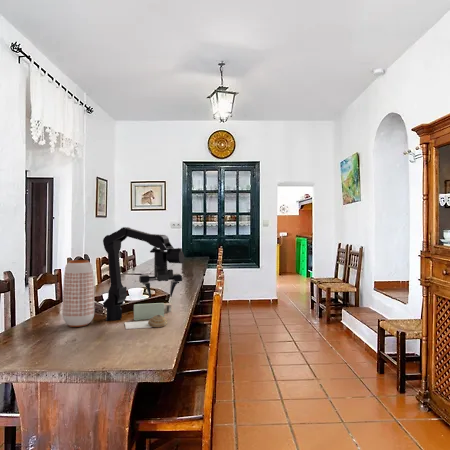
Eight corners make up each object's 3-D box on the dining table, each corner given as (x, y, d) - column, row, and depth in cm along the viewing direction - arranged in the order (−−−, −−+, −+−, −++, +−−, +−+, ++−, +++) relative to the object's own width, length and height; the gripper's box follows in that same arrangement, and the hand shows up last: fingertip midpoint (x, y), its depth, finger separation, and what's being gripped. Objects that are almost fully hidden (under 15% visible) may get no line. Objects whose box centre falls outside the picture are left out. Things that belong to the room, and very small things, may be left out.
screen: (134, 320, 178) (134, 305, 178) (133, 318, 182) (133, 303, 182) (164, 318, 182) (164, 303, 183) (163, 316, 186) (163, 302, 186)
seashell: (170, 318, 175) (166, 315, 167) (167, 330, 173) (162, 328, 165) (153, 315, 176) (148, 312, 169) (150, 327, 174) (144, 325, 167)
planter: (83, 329, 164) (84, 262, 164) (55, 327, 166) (56, 261, 166) (100, 321, 177) (100, 259, 177) (73, 320, 179) (74, 259, 179)
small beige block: (164, 313, 194) (164, 305, 194) (160, 311, 198) (161, 303, 198) (172, 312, 196) (172, 304, 196) (168, 310, 200) (168, 303, 200)
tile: (125, 329, 164) (125, 328, 164) (124, 323, 174) (124, 322, 174) (152, 327, 167) (152, 326, 167) (149, 321, 177) (149, 320, 177)
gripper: (141, 265, 164) (141, 301, 164) (184, 263, 170) (184, 299, 170) (139, 262, 175) (138, 297, 175) (179, 261, 180) (179, 295, 180)
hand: (160, 297), depth 175 cm, fingers open, 9 cm apart
